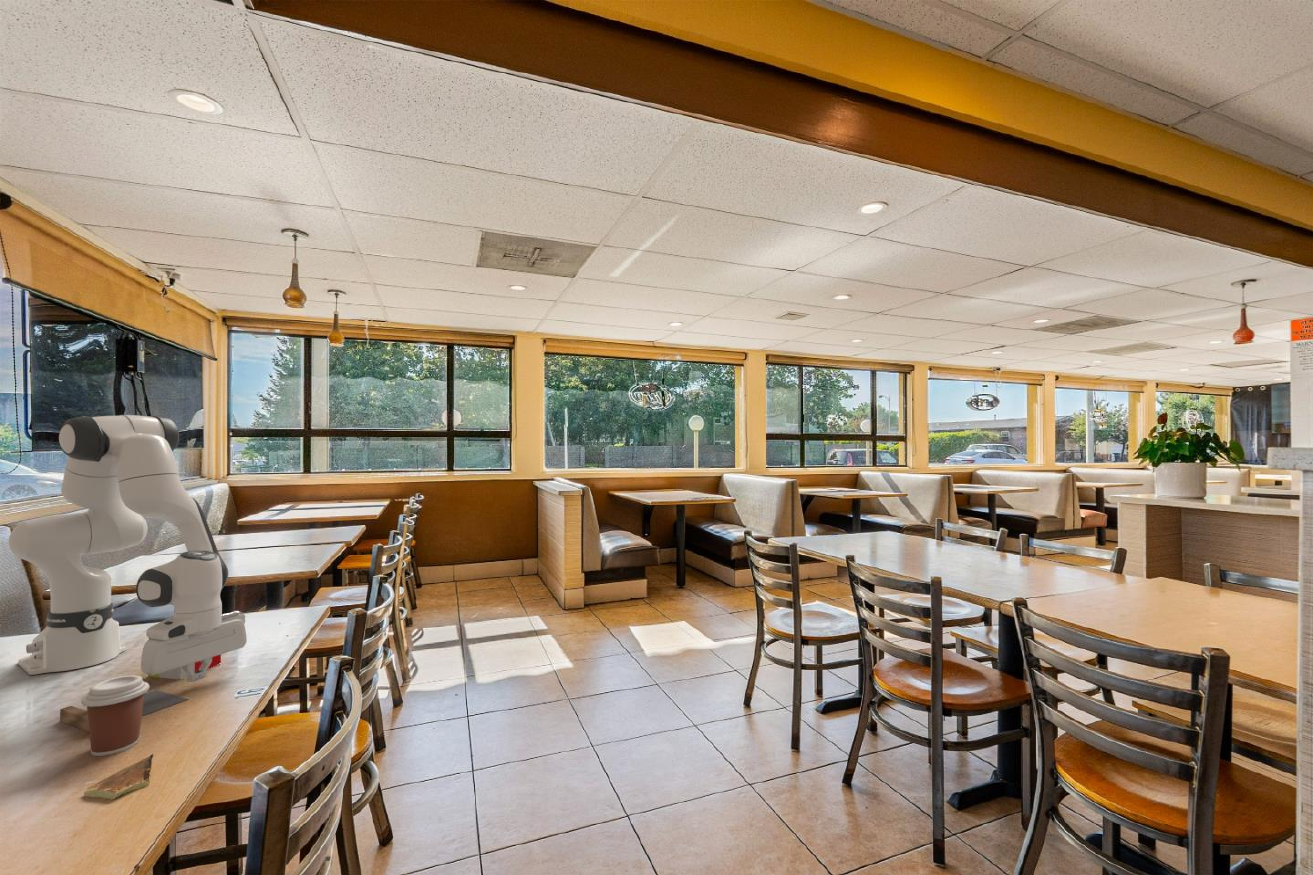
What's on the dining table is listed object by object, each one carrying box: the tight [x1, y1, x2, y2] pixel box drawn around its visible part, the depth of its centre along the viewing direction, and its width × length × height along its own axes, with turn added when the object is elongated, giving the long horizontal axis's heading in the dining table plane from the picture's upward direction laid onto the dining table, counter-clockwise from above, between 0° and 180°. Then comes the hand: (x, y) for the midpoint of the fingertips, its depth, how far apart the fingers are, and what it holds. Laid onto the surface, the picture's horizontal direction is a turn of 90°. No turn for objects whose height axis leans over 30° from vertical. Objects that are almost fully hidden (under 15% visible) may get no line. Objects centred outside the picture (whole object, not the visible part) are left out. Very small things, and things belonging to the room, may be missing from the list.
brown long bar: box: [59, 705, 89, 732], centre depth 112 cm, size 14×2×2 cm, turn 68°
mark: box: [142, 689, 189, 717], centre depth 120 cm, size 12×12×1 cm
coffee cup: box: [81, 674, 150, 757], centre depth 104 cm, size 9×9×12 cm
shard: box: [83, 753, 154, 800], centre depth 94 cm, size 11×8×2 cm
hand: (196, 679), depth 130 cm, fingers closed
